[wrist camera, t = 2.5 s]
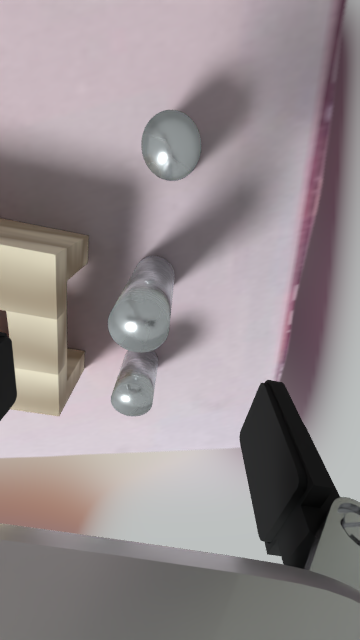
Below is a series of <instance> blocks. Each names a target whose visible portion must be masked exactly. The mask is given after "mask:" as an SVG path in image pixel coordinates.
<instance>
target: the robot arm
mask: <svg viewBox="0 0 360 640" xmlns="http://www.w3.org/2000/svg"><path fill="white" fill-rule="evenodd" d="M16 398H17V388H16V378H15V368H14V358H13V348H12V340H11V339H10V338H8V336H7V334H6V333H2V332H0V420H1V419H2V418H3V417H4V415H5V414H6V413H7V412H8V411H9V409H10V408H11V407H12V406H13V404H14V403H15V401H16ZM240 445H241V449H242V454H243V459H244V464H245V469H246V474H247V479H248V484H249V489H250V494H251V499H252V504H253V509H254V514H255V519H256V524H257V529H258V534H259V537H260V540H261V541H265V546H266V550H267V554H269V555H277V556H282V560H283V564H284V565H283V564H277V563H271V562H264V561H259V560H253V559H247V558H241V557H235V556H229V555H222V554H214V553H208V552H201V551H194V550H187V549H181V548H174V547H167V546H160V545H153V544H145V543H139V542H132V541H124V540H117V539H110V538H103V537H96V536H88V535H81V534H73V533H67V532H59V531H52V530H45V529H37V528H30V527H23V526H15V525H8V524H0V640H360V503H359V502H358V501H356V500H353V499H350V498H346V497H340V496H339V494H338V492H337V490H336V488H335V486H334V484H333V482H332V480H331V478H330V476H329V474H328V472H327V470H326V468H325V466H324V464H323V461H322V459H321V457H320V455H319V453H318V451H317V449H316V447H315V445H314V443H313V441H312V439H311V437H310V435H309V433H308V431H307V429H306V427H305V425H304V424H303V422H302V420H301V418H300V416H299V414H298V412H297V410H296V408H295V405H294V403H293V401H292V399H291V397H290V395H289V393H288V391H287V389H286V387H285V385H284V384H283V383H282V382H277V381H271V380H267V381H266V382H265V383H261V384H260V386H259V388H258V391H257V393H256V396H255V398H254V400H253V403H252V405H251V408H250V410H249V412H248V415H247V417H246V420H245V422H244V424H243V427H242V429H241V432H240Z"/></svg>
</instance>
